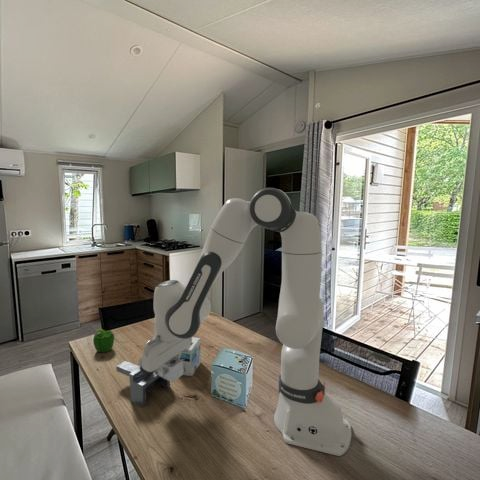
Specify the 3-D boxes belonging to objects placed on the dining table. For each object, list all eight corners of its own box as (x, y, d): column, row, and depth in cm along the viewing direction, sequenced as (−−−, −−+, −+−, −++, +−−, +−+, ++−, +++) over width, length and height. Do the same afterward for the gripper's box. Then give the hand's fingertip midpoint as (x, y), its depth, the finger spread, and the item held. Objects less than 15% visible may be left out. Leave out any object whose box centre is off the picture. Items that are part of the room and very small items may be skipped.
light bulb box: (192, 376, 111) (191, 350, 109) (175, 374, 112) (175, 348, 111) (201, 361, 121) (201, 337, 120) (186, 359, 123) (185, 335, 121)
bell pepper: (117, 345, 134) (116, 324, 133) (110, 354, 126) (109, 332, 125) (99, 345, 134) (98, 324, 133) (90, 354, 126) (89, 332, 125)
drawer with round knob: (169, 386, 105) (169, 351, 103) (143, 407, 94) (141, 369, 92) (134, 372, 113) (133, 339, 112) (106, 390, 102) (104, 355, 101)
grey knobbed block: (183, 374, 96) (183, 359, 95) (172, 382, 91) (171, 367, 91) (166, 366, 100) (165, 352, 99) (154, 373, 96) (154, 359, 95)
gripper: (151, 346, 83) (153, 390, 85) (195, 320, 101) (195, 358, 103) (136, 341, 86) (137, 384, 88) (180, 317, 104) (181, 353, 106)
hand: (169, 369), depth 95 cm, fingers closed on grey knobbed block, 5 cm apart
